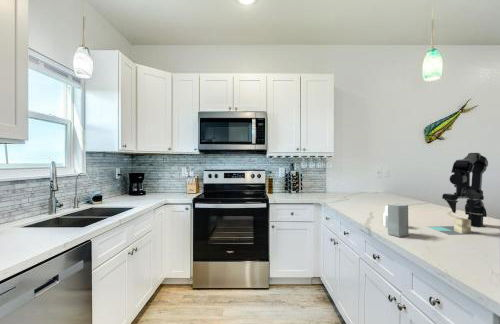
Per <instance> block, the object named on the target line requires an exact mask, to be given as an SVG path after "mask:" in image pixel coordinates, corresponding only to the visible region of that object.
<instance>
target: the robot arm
mask: <svg viewBox="0 0 500 324" xmlns="http://www.w3.org/2000/svg"><path fill="white" fill-rule="evenodd" d="M488 166H489V161H488V159H487V156H483V155H481V152H468V154H467V155H466V156H465V157H463V158H462V159H456V160H455V161H454V162H453V165H452V169H451V173H453V174H451V175H450V177H449V182H450V183H451V184H452V185H454V188H455V192H453V193H443V194H442V196H441V197H442V200H444V201H446V203H447V204H448V206H449V207H450V209H451V211H452V213H453V214H456V212H457V203H458V202H459V200H458V199H466V202H465V204H464V213H465V215H468V217H467V219H469V220H471V227H473V228H485V227H486V225H484V218H487V214H488V213H487V209H486V208H485V203H484V202H483V201H484V199H485V196H484V190H482V184H483V183H482V182H483V174H484V173H485V172H487V167H488Z"/></svg>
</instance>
